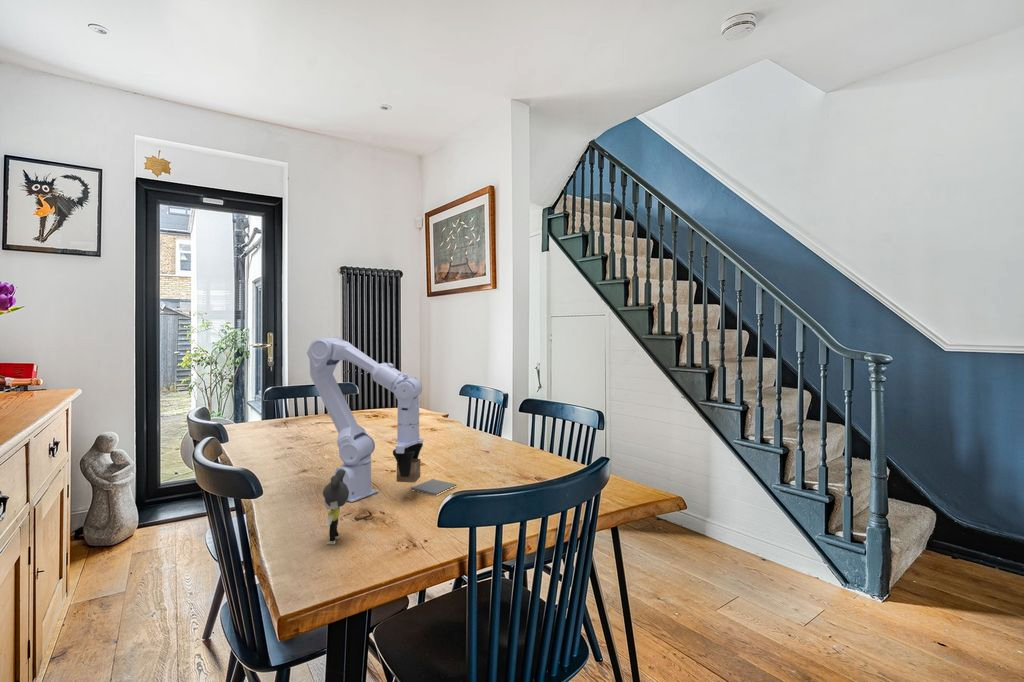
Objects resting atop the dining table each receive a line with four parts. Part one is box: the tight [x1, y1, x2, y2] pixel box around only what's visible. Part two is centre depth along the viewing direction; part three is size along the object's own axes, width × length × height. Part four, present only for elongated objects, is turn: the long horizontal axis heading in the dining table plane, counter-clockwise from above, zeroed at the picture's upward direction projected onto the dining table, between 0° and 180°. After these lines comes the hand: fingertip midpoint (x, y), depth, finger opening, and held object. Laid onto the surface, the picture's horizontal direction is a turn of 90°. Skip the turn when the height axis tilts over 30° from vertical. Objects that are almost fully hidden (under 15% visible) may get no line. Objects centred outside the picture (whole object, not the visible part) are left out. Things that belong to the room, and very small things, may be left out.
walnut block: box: [396, 458, 421, 484], centre depth 135 cm, size 5×5×5 cm
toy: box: [322, 469, 349, 545], centre depth 108 cm, size 8×5×15 cm, turn 4°
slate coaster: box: [411, 478, 458, 496], centre depth 142 cm, size 9×9×1 cm
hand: (408, 473), depth 135 cm, fingers closed on walnut block, 5 cm apart
